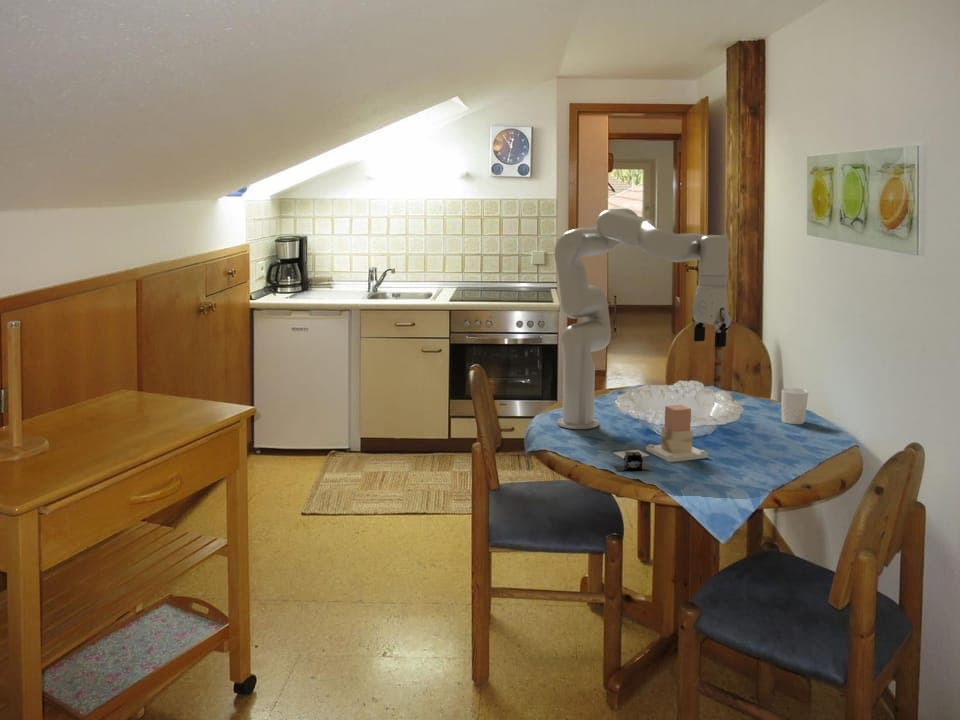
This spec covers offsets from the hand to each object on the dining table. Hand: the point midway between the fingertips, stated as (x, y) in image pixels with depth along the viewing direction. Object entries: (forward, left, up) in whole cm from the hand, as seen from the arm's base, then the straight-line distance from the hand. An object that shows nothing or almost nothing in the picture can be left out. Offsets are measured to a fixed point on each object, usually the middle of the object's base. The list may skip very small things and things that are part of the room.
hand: (709, 343), depth 260 cm
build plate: (0, -9, -30) cm, 32 cm away
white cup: (-18, +45, -31) cm, 57 cm away
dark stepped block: (+7, -27, -31) cm, 42 cm away
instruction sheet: (-4, -21, -30) cm, 37 cm away
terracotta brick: (0, -9, -23) cm, 25 cm away
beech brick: (0, -9, -29) cm, 30 cm away
